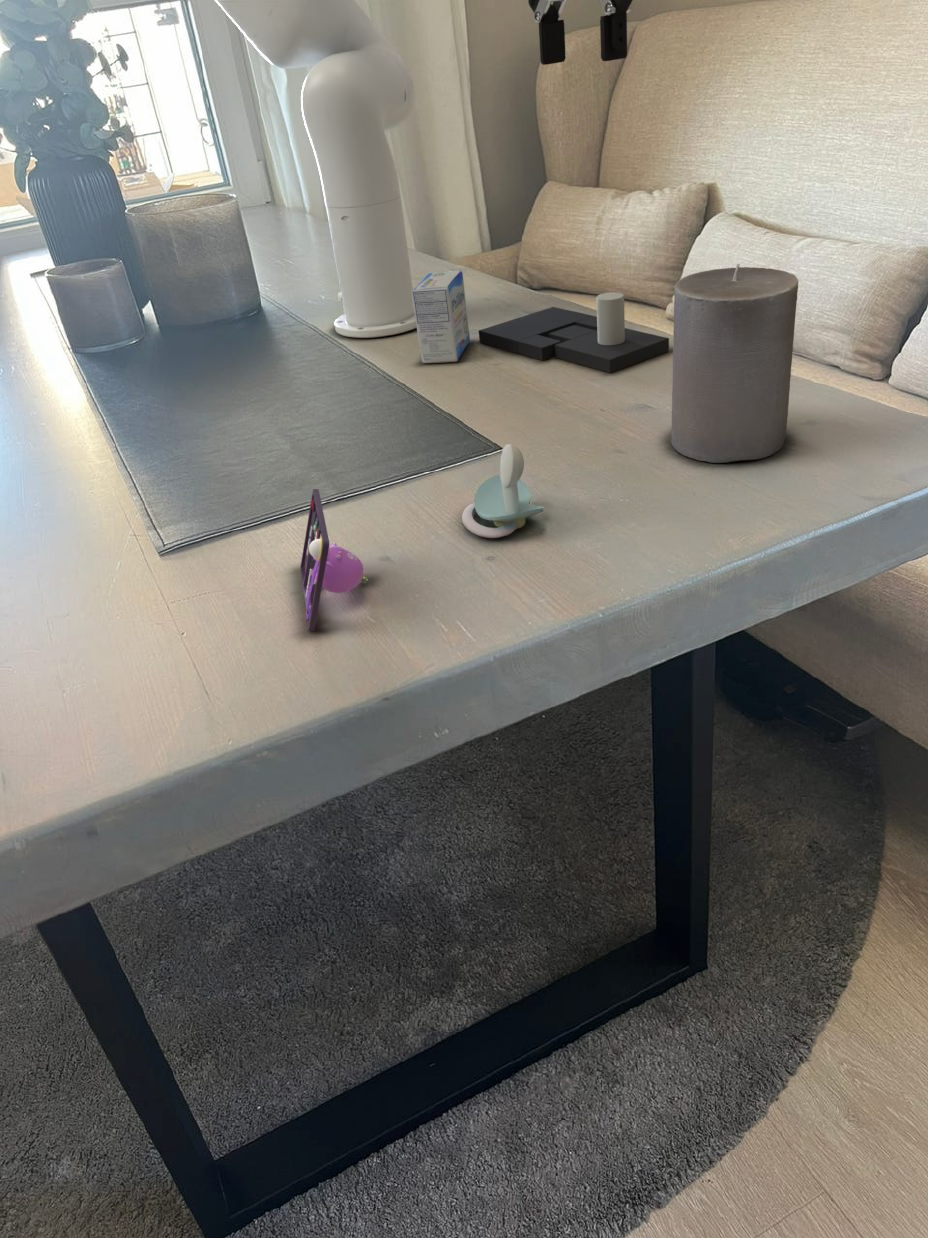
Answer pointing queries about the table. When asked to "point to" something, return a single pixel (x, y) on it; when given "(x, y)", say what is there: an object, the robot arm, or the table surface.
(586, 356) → the small pad
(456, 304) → the medicine box
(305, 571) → the purple panel with bulb
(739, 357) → the pillar candle
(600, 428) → the table surface
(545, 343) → the big pad
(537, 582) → the table surface
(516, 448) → the pacifier
